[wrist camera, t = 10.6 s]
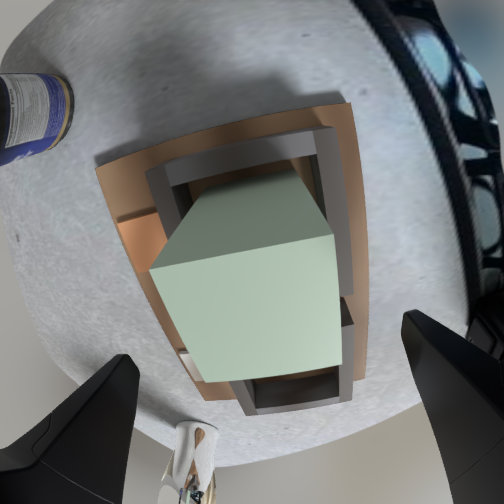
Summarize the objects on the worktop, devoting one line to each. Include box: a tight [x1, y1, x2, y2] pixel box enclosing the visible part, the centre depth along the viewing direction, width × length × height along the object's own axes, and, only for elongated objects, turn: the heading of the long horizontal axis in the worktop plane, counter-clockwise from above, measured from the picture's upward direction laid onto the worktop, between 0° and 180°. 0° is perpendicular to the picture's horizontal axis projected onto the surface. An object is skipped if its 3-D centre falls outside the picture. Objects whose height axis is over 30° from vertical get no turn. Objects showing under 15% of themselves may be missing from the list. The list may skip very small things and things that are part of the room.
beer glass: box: [157, 421, 220, 504], centre depth 26 cm, size 7×7×15 cm
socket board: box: [95, 102, 369, 416], centre depth 20 cm, size 17×25×4 cm
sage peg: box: [149, 168, 342, 383], centre depth 14 cm, size 6×6×10 cm
